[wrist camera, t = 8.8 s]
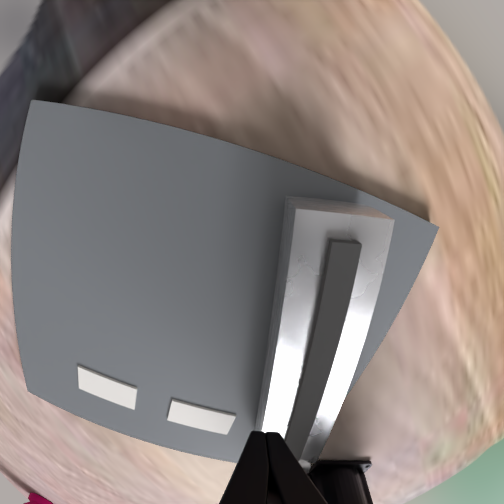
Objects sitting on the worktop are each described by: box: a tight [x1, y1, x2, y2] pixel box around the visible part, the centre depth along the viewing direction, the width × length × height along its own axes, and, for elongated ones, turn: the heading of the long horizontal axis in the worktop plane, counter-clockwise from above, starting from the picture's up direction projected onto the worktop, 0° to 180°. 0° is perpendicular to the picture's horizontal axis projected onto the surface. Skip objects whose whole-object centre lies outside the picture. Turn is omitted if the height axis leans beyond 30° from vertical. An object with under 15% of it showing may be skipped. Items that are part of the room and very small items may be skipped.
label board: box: [11, 100, 439, 463], centre depth 17 cm, size 24×23×1 cm
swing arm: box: [255, 196, 395, 474], centre depth 15 cm, size 19×4×3 cm, turn 175°
